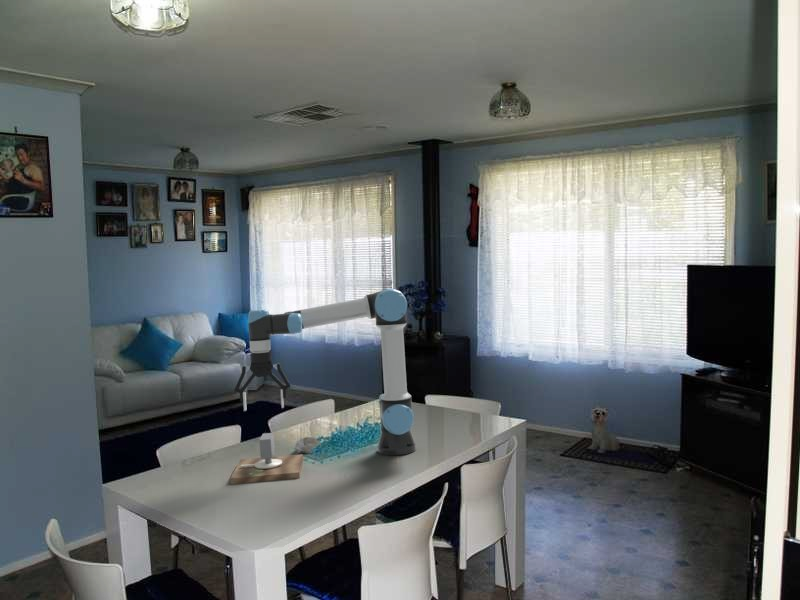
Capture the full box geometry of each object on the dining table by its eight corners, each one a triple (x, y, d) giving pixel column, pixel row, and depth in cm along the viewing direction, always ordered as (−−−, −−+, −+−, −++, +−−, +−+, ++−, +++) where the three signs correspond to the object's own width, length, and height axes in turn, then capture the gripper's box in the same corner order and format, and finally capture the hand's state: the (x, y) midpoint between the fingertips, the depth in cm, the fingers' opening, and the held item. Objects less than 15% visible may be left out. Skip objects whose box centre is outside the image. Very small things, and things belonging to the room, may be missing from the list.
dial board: (303, 459, 248) (303, 453, 248) (299, 477, 224) (299, 471, 224) (241, 464, 246) (240, 459, 246) (230, 484, 222) (230, 477, 222)
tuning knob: (283, 459, 241) (281, 432, 240) (280, 467, 231) (279, 438, 230) (243, 463, 239) (241, 435, 239) (239, 471, 229) (237, 441, 229)
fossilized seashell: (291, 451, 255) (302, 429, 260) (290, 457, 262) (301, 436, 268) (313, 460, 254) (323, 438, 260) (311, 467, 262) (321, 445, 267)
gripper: (294, 348, 239) (298, 404, 240) (227, 352, 236) (230, 409, 236) (294, 350, 232) (298, 407, 233) (224, 355, 228) (228, 413, 229)
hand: (264, 408), depth 234 cm, fingers open, 13 cm apart
